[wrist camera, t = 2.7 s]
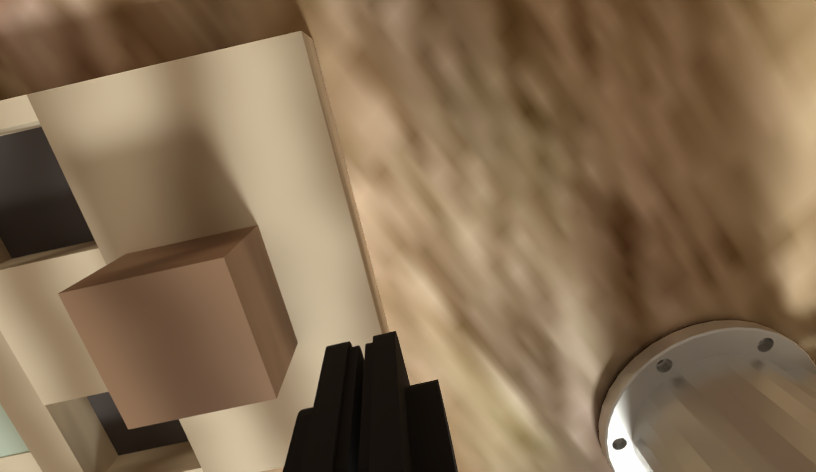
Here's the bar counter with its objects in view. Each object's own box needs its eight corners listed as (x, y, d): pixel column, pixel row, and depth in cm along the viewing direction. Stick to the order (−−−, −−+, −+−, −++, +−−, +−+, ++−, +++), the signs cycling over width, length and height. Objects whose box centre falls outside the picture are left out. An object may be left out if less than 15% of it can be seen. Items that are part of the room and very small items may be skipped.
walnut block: (257, 224, 19) (223, 257, 15) (297, 342, 20) (276, 398, 17) (125, 254, 19) (57, 293, 15) (176, 368, 21) (128, 429, 17)
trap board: (312, 39, 19) (282, 16, 14) (408, 407, 25) (413, 489, 20) (-282, 177, 20) (-527, 206, 14) (-48, 500, 26) (-159, 603, 20)
